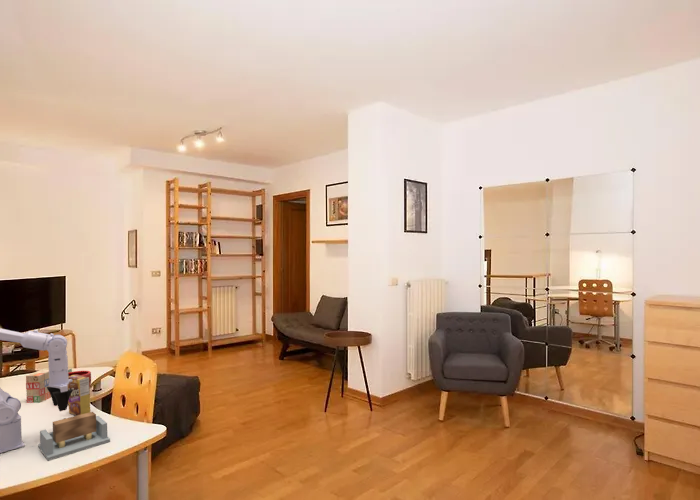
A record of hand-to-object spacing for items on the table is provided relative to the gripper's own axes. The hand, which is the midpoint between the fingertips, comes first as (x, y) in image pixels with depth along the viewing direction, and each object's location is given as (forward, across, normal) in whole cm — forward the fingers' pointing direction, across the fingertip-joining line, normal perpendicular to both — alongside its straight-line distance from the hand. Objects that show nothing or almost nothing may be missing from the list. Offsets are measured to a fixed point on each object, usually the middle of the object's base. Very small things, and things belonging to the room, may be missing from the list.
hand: (60, 407), depth 156 cm
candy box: (+11, +20, -10) cm, 25 cm away
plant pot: (+11, +40, -13) cm, 44 cm away
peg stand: (+10, -11, -2) cm, 15 cm away
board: (+8, -11, -2) cm, 13 cm away
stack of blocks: (+11, +58, -8) cm, 60 cm away
